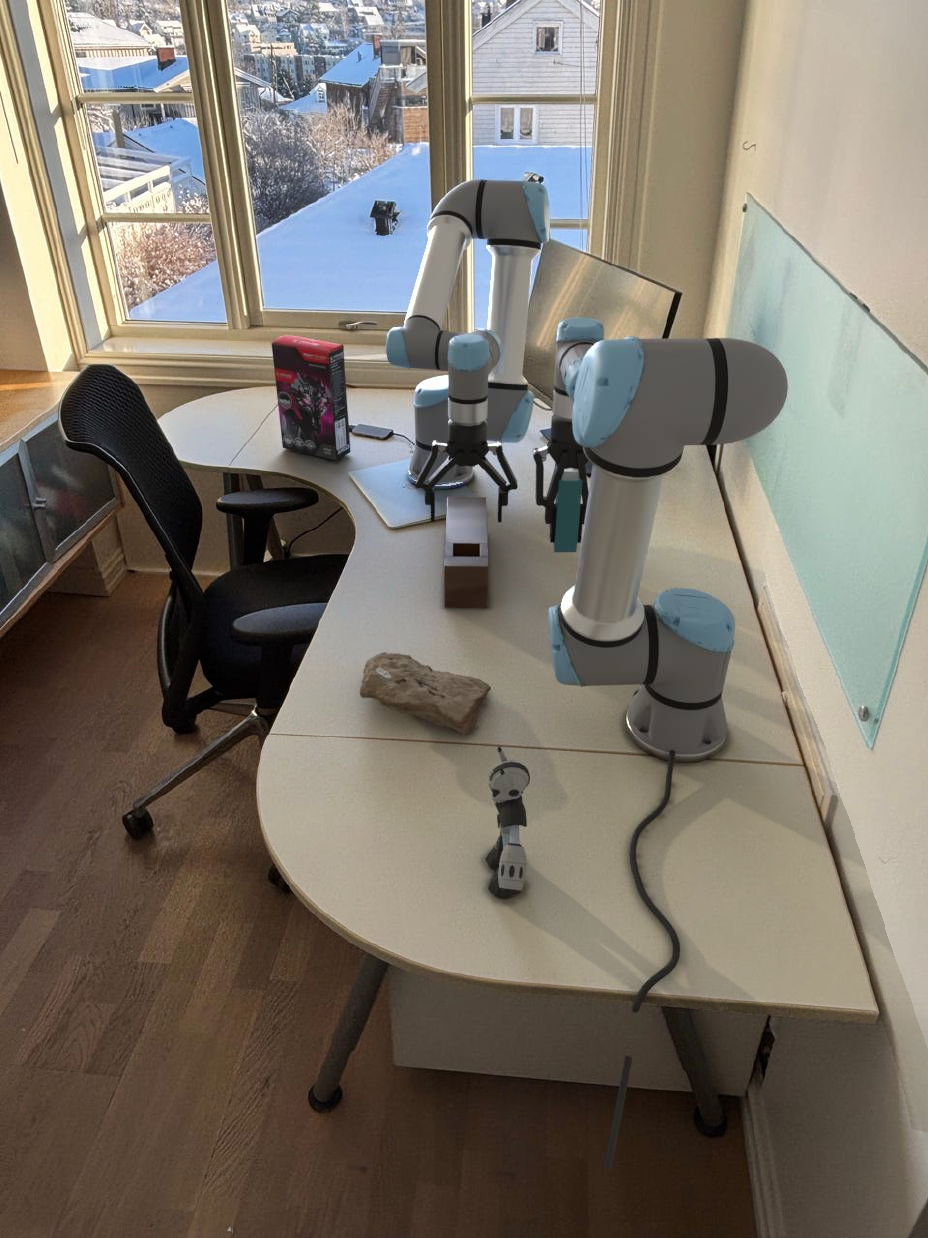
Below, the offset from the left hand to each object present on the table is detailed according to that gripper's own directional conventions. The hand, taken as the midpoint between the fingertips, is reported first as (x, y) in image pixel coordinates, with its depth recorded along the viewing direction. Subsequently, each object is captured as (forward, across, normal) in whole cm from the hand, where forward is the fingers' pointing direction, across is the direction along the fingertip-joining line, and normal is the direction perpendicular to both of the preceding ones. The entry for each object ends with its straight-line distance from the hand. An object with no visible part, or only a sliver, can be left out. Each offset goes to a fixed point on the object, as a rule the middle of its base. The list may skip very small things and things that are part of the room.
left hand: (466, 519), depth 188 cm
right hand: (-7, -18, +21) cm, 28 cm away
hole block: (+6, 0, +10) cm, 11 cm away
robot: (+8, -5, +86) cm, 87 cm away
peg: (-5, -18, +21) cm, 28 cm away
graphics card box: (+5, +38, -47) cm, 60 cm away
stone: (+7, +7, +52) cm, 53 cm away
